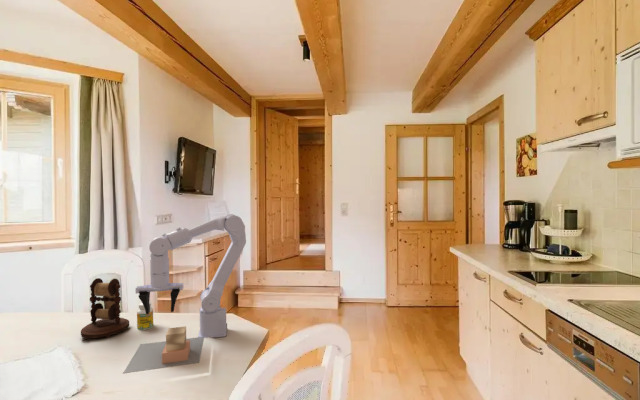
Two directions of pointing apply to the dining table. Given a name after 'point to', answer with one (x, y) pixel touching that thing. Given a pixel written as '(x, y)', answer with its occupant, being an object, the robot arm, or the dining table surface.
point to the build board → (155, 356)
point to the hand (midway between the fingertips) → (160, 312)
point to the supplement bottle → (144, 318)
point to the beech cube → (176, 338)
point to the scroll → (105, 310)
